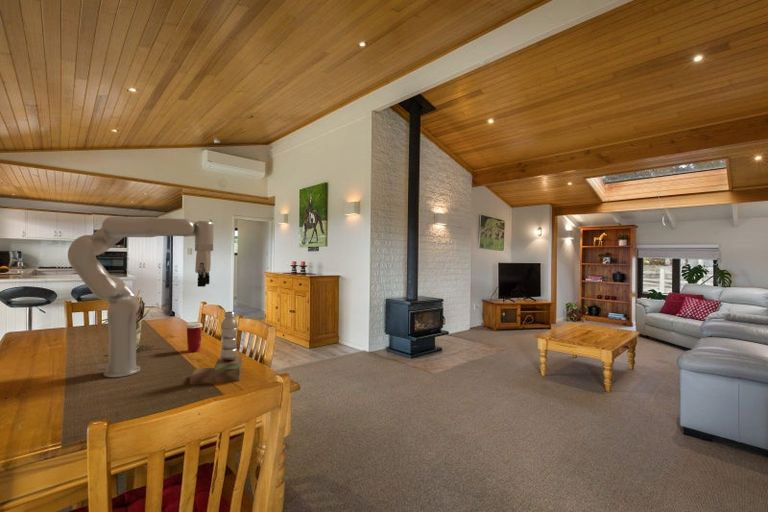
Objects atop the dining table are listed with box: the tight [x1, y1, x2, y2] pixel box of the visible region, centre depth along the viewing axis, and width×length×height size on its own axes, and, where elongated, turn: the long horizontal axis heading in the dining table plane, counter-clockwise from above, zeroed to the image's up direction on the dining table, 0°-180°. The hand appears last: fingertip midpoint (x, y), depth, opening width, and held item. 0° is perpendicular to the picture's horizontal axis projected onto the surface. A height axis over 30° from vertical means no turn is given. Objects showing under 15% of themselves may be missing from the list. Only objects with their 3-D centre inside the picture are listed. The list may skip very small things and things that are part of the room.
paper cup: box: [185, 322, 203, 353], centre depth 186 cm, size 8×8×14 cm
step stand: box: [189, 356, 243, 386], centre depth 148 cm, size 18×10×7 cm, turn 107°
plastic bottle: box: [220, 311, 239, 360], centre depth 151 cm, size 6×7×20 cm
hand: (203, 285), depth 165 cm, fingers open, 9 cm apart
